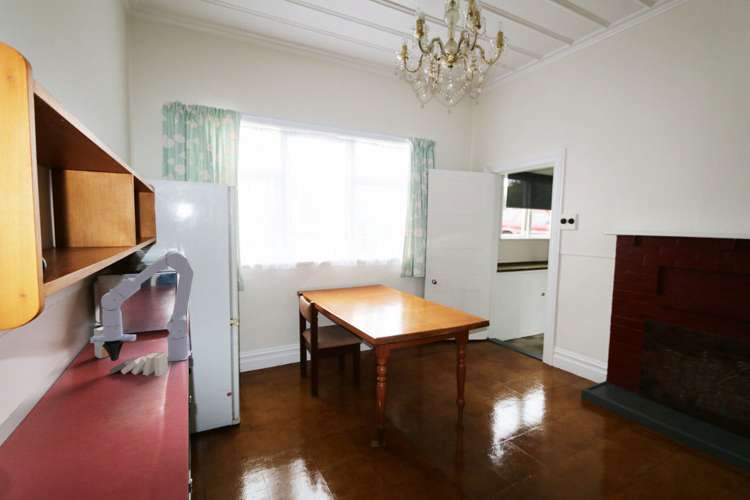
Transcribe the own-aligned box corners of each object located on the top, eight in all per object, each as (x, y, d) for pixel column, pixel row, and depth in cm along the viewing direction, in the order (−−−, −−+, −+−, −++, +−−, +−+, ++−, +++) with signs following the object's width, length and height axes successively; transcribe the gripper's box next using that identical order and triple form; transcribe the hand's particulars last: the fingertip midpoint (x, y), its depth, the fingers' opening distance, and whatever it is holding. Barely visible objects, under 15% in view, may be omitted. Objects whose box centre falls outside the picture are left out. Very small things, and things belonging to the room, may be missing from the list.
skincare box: (100, 358, 138) (98, 330, 137) (94, 357, 140) (92, 329, 139) (117, 353, 144) (115, 326, 143) (111, 351, 146) (109, 324, 145)
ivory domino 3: (142, 374, 124) (146, 356, 123) (151, 369, 129) (155, 352, 128) (147, 375, 124) (151, 358, 123) (156, 370, 128) (159, 353, 128)
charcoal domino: (109, 369, 125) (124, 361, 124) (119, 364, 130) (133, 357, 129) (111, 374, 125) (126, 366, 124) (121, 368, 130) (136, 361, 129)
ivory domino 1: (120, 370, 125) (134, 360, 124) (130, 365, 129) (143, 355, 128) (123, 374, 125) (137, 364, 124) (133, 369, 129) (146, 359, 128)
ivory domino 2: (131, 372, 124) (141, 358, 124) (140, 366, 129) (150, 353, 128) (135, 375, 124) (145, 361, 124) (144, 369, 129) (154, 356, 128)
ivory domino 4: (155, 376, 124) (154, 357, 123) (163, 370, 128) (162, 352, 128) (159, 376, 124) (158, 357, 123) (167, 371, 128) (167, 353, 127)
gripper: (139, 320, 131) (141, 354, 132) (98, 322, 129) (100, 356, 130) (129, 326, 124) (131, 362, 125) (85, 328, 122) (87, 364, 123)
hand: (114, 359), depth 127 cm, fingers closed
